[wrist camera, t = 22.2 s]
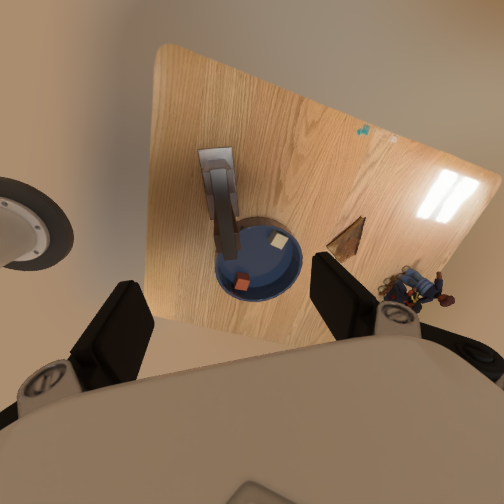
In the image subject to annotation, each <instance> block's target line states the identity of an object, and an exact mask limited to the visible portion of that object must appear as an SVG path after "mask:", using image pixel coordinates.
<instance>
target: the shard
mask: <svg viewBox="0 0 504 504" xmlns="http://www.w3.org/2000/svg"><path fill="white" fill-rule="evenodd" d="M365 219H366V217H364V218H359V220H358V221H356V222H355V223H354V224H353V225H352V226H351V227H350V228H349V229H348V230H346V231H345V232H344V233H343V234H342V235H341V236H339V237H338V238H337V239H336V240H335V241H334V242H332V243H331V244H330V245H328V246H327V248H328V249H329V250H330V251H331V252H332V253H333V254H334V255H335V257H336V259H337V260H338V261H339V262H340V263H343V262H345V261H346V260H347V259H349V258H350V257H352V256H353V255H356V253H357V250H358V245H359V243H360V239H361V235H362V231H363V225H364V222H365Z"/></svg>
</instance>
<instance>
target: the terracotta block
mask: <svg viewBox="0 0 504 504" xmlns="http://www.w3.org/2000/svg"><path fill="white" fill-rule="evenodd" d="M249 283H250V278H249V274H246V273H241V272H237V273H236V276H235V279H234V288H235V289H238V290H244V291H247V288H248V286H249Z"/></svg>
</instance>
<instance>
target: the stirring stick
mask: <svg viewBox="0 0 504 504" xmlns="http://www.w3.org/2000/svg"><path fill="white" fill-rule="evenodd" d="M209 172H210V178H211V185H212V191H213V197H214V203H215V209H216V215H217V221H218V227H219V233H220V240H221V246H222V252H223V258H224V261H229V260H236V259H238V258H237V250H236V242H235V234H234V226H233V218H232V210H231V202H230V194H229V187H228V179H227V171H226V167H225V166H222V167H212V168H210V169H209Z"/></svg>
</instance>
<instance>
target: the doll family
mask: <svg viewBox="0 0 504 504" xmlns="http://www.w3.org/2000/svg"><path fill="white" fill-rule="evenodd" d="M402 271H403V272H405V274H406V275H404V274H398V275H397V277H396V278H397V279H399V280H397V281H395V282H394V283H392V280H390V279H389V278H388V279H386V280H385V281H384V284H388V285H390V286H392V288H391V290H390V291H388V290H387V287H386V286H381V287H380V288H379V289H378V291H379V292H383V291H384V292H385V293H386V295H385V297H384V301H393V302H398V303H401V304H404V305H406V306H408V307H409V308H411V309H412V310H413V311H414V312H415V313H416V314H417V313H419V312H420V310H421V309H422V305H421V303H422V304H423V303H427V302H431V301H433V299H435V298H438V301H439V302H440V305H441V306H443V307H447V306H450V305H452V304H454V303H455V299H454V297H453V296H448V295H445V294H443V295H441V292H442V286H443V280H442V276H441V272H437V273H436V274H437V279H435V282H434V283H435V284H433V283H432V282H430V281H429V280H428V279H426V278H424V277H422V276H421V275H420V274H419V273H418V272H417V271H415V270H413V269H411V268H409V267H408V266H405V267H404V268H403V269H402ZM403 283H404V284H406V285H408V286H410V287H412V290H409V292H408V293H406V291H407V289H406V287H405V285H404V284H403ZM415 291H416V292H415ZM419 295H421V296H422V297H423V298H420V297H419ZM418 297H419V298H418ZM418 299H419V300H418ZM384 301H382V302H384Z"/></svg>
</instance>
